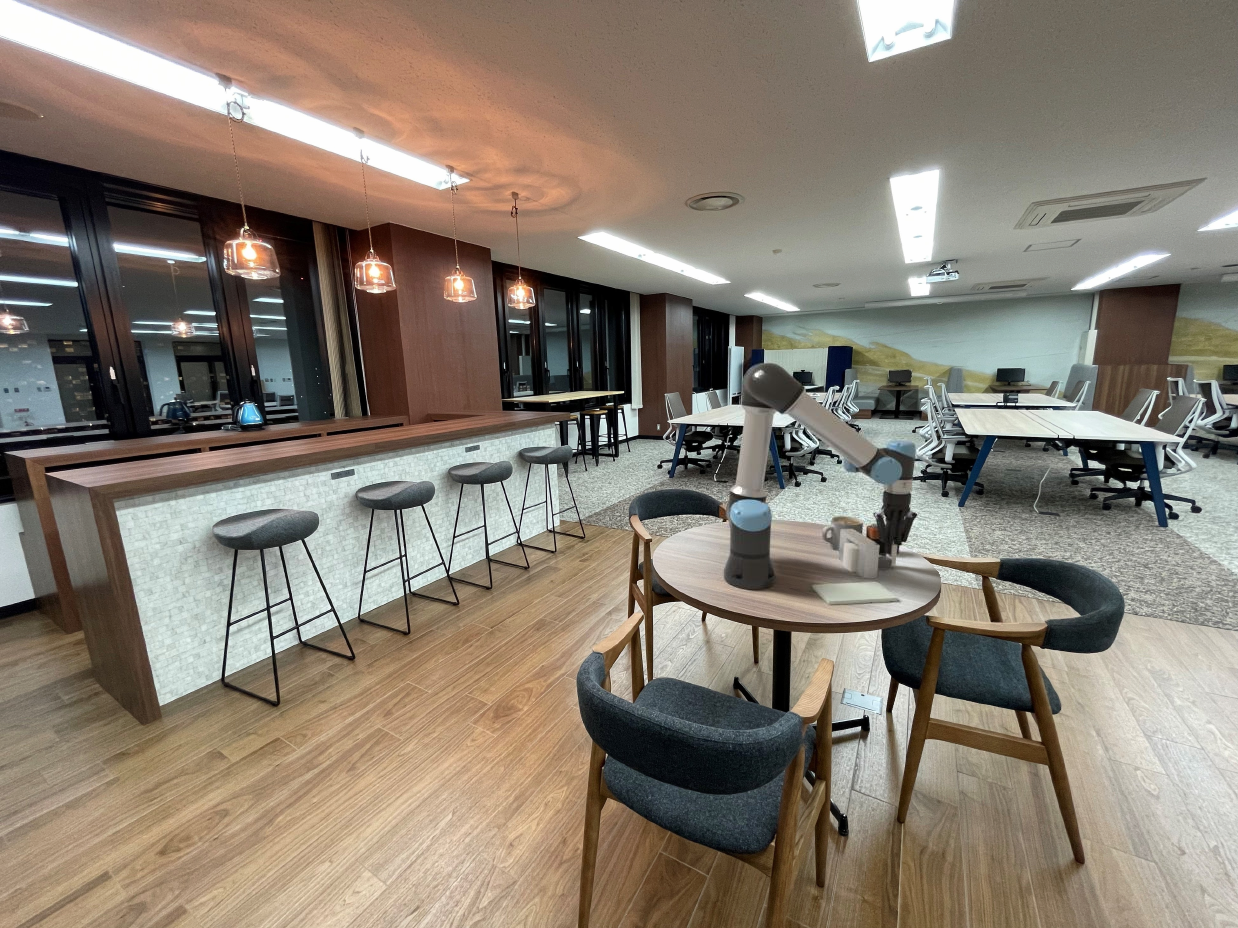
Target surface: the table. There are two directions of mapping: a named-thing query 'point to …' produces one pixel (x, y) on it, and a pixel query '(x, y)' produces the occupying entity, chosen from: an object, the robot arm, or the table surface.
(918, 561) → the table surface
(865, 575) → the grey arch block
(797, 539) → the table surface
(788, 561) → the table surface
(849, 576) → the table surface
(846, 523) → the coffee mug
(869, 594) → the mat
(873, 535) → the battery
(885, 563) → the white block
